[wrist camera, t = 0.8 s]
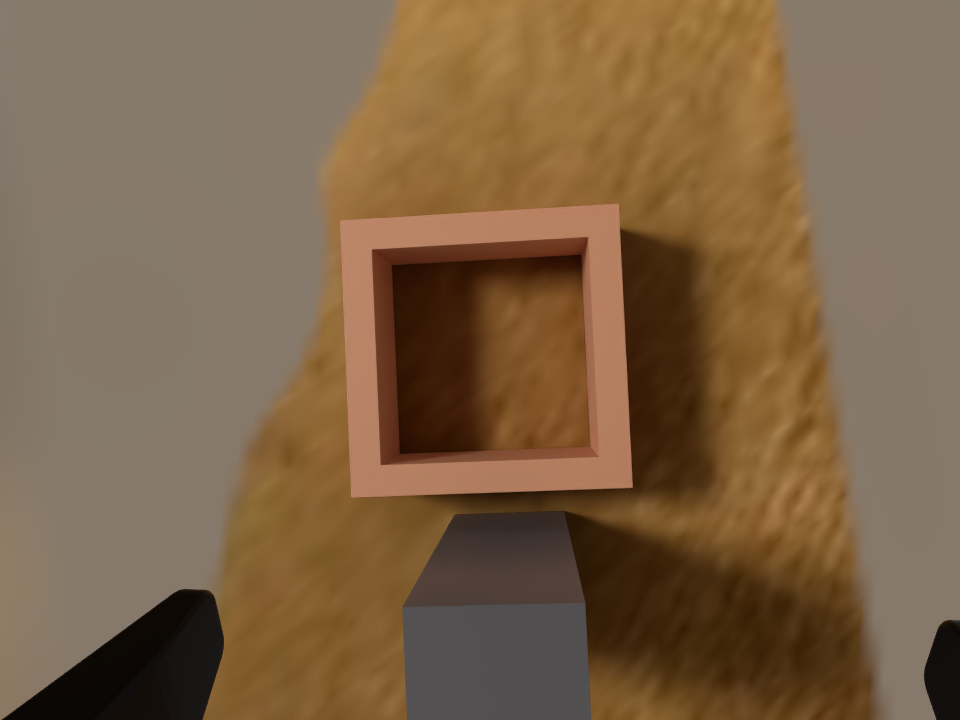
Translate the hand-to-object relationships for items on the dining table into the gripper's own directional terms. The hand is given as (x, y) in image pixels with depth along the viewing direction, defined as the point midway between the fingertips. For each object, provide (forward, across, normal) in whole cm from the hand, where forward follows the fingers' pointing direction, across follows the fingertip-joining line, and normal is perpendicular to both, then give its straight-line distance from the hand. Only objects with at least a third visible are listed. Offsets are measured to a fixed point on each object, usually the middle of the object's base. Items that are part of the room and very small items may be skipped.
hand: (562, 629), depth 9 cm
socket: (+18, +2, +5) cm, 18 cm away
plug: (+14, +1, +12) cm, 18 cm away
